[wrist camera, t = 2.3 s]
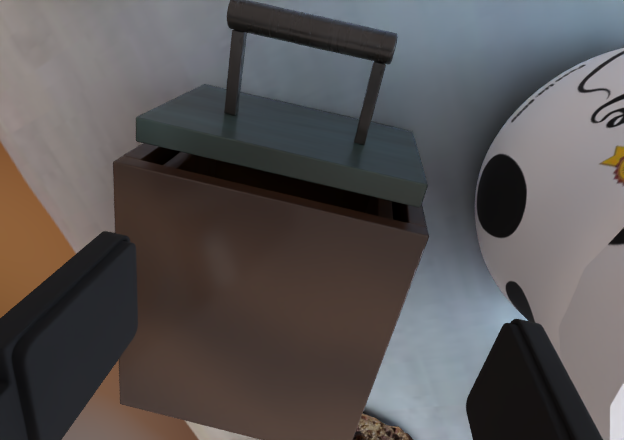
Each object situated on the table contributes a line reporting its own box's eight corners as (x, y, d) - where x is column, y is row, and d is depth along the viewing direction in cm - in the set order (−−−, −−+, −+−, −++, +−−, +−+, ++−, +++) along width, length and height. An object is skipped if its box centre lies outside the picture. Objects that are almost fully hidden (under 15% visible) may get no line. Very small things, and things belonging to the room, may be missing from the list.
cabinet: (198, 109, 29) (112, 161, 20) (412, 158, 29) (429, 236, 19) (185, 300, 37) (119, 404, 27) (353, 341, 37) (344, 461, 27)
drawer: (211, -13, 25) (134, -20, 17) (442, 38, 24) (473, 56, 17) (190, 278, 35) (135, 360, 27) (354, 318, 34) (348, 413, 26)
